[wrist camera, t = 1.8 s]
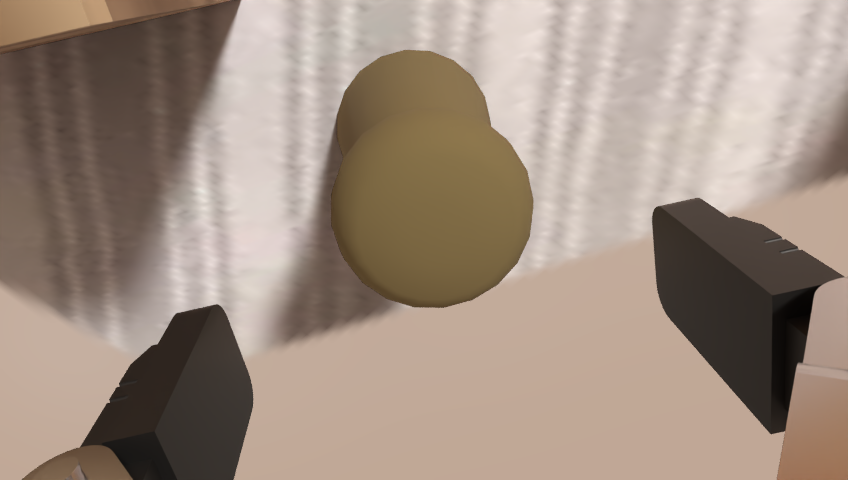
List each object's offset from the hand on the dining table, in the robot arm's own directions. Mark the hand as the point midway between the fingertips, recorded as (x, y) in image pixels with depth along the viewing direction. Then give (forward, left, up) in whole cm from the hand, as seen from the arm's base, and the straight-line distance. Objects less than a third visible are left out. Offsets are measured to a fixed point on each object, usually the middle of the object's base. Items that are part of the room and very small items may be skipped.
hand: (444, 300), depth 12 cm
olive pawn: (0, 0, -15) cm, 15 cm away
